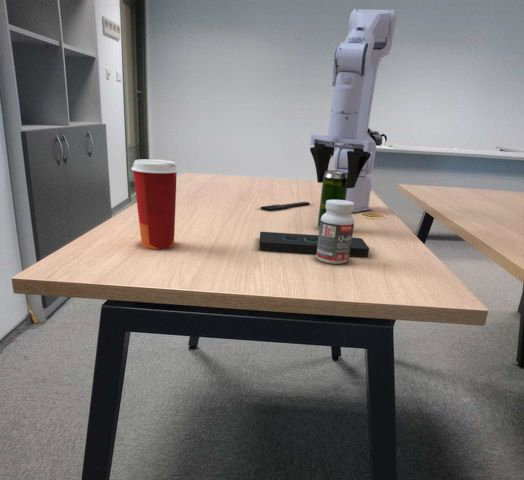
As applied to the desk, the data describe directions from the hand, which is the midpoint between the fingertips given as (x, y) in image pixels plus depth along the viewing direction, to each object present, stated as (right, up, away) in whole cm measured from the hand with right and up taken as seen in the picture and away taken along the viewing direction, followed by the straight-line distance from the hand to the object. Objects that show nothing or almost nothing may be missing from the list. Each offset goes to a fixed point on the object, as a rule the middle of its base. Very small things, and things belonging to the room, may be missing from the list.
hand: (335, 185), depth 100 cm
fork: (-9, +3, +24) cm, 26 cm away
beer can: (-1, -8, +4) cm, 10 cm away
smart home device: (-6, -16, -11) cm, 20 cm away
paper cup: (-34, -16, -16) cm, 41 cm away
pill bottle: (-3, -19, -17) cm, 26 cm away
